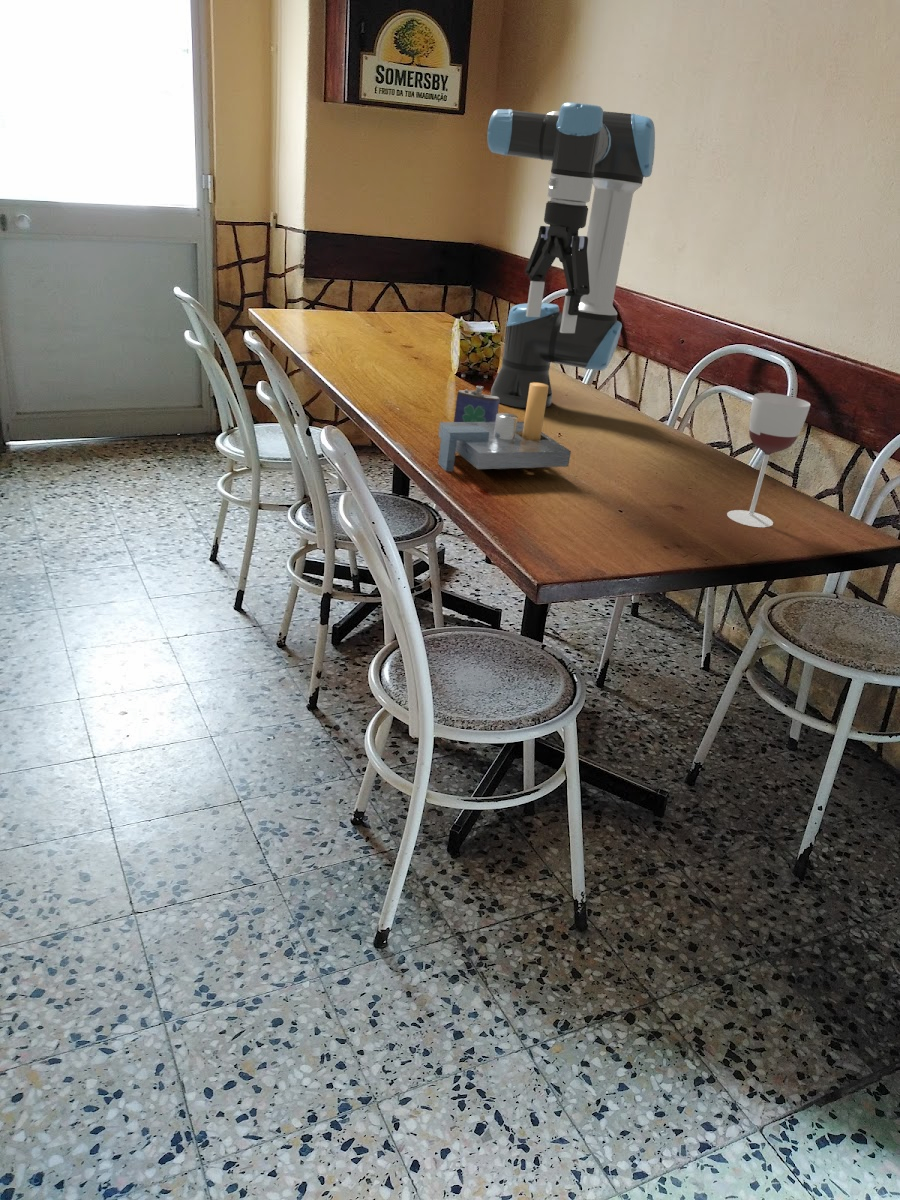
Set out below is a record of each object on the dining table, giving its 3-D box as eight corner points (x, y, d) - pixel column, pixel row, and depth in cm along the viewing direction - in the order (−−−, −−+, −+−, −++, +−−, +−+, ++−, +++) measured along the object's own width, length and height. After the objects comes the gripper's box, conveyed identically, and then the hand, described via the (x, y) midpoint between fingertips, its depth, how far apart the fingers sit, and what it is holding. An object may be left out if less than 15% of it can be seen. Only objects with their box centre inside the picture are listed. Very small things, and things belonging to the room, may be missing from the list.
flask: (495, 437, 198) (502, 388, 193) (492, 441, 195) (499, 391, 190) (454, 430, 199) (459, 380, 195) (450, 433, 197) (456, 383, 192)
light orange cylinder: (530, 462, 185) (543, 382, 178) (539, 468, 182) (552, 387, 175) (514, 462, 183) (526, 382, 176) (522, 468, 181) (535, 387, 173)
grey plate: (521, 449, 192) (528, 402, 187) (565, 481, 176) (574, 430, 172) (423, 451, 183) (428, 402, 179) (461, 485, 168) (468, 431, 163)
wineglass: (716, 507, 172) (746, 391, 163) (765, 511, 174) (797, 395, 164) (733, 525, 165) (765, 404, 155) (784, 529, 166) (819, 409, 156)
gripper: (517, 192, 172) (502, 309, 182) (585, 209, 152) (564, 339, 162) (552, 195, 175) (536, 310, 185) (623, 212, 155) (600, 340, 165)
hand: (549, 324), depth 173 cm, fingers open, 13 cm apart
